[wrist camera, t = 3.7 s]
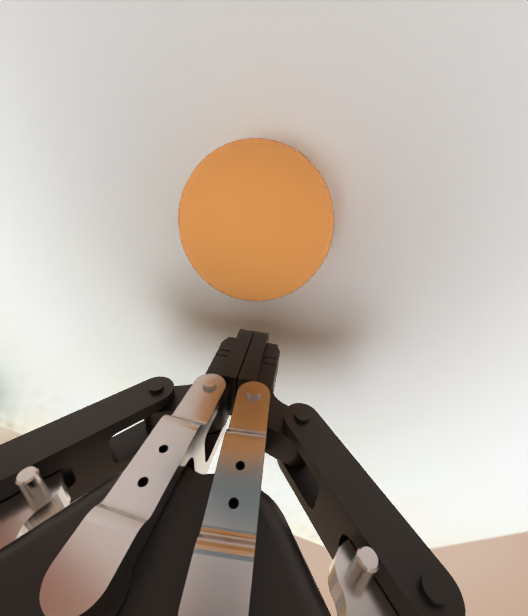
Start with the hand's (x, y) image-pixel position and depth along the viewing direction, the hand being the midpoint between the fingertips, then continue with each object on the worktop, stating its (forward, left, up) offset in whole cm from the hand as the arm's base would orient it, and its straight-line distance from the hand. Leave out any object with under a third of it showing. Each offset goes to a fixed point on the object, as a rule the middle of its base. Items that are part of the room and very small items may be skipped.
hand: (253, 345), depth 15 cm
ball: (-6, 0, +1) cm, 7 cm away
